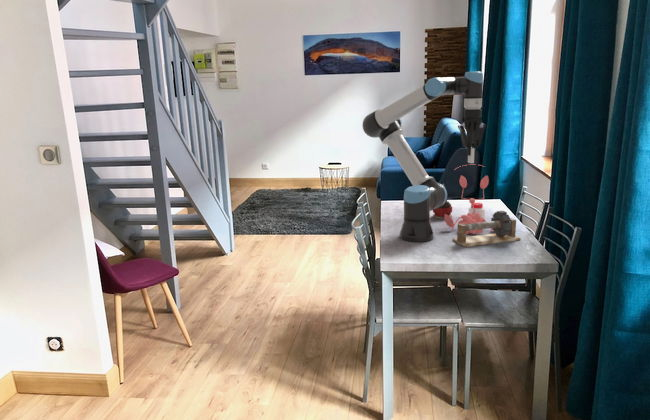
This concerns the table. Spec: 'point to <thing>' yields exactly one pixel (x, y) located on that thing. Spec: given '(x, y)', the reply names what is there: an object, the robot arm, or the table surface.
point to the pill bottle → (478, 209)
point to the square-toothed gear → (502, 223)
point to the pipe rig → (484, 239)
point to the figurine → (470, 217)
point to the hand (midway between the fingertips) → (470, 162)
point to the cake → (443, 210)
